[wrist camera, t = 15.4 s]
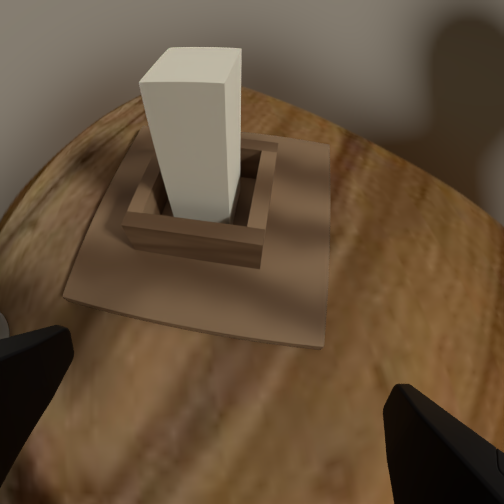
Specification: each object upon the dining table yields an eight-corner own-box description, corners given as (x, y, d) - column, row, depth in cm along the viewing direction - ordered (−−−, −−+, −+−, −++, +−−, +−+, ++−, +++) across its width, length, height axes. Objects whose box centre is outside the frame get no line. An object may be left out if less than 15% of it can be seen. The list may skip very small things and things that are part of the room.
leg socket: (320, 349, 21) (338, 334, 17) (67, 301, 22) (39, 277, 18) (327, 151, 31) (336, 118, 27) (144, 132, 31) (136, 100, 28)
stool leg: (230, 232, 24) (224, 83, 13) (176, 225, 24) (138, 82, 13) (240, 189, 26) (241, 48, 15) (190, 183, 26) (169, 47, 15)
